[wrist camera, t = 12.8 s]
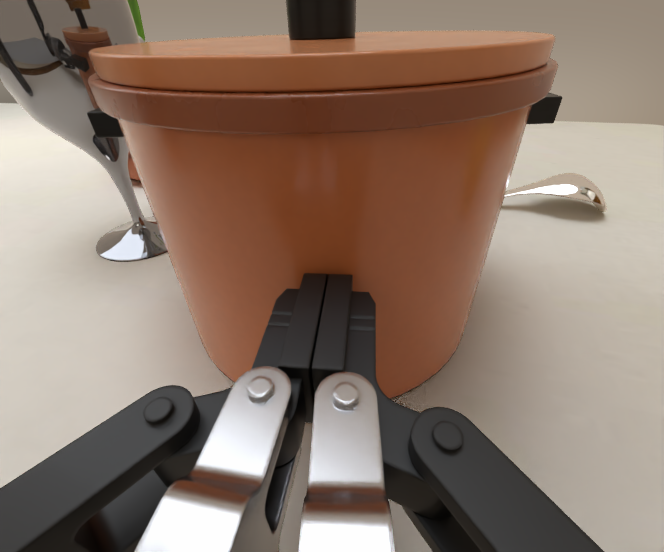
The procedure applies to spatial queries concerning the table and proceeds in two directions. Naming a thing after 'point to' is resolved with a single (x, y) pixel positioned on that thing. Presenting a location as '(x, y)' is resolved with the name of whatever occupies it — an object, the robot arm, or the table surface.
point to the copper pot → (328, 169)
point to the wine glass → (74, 93)
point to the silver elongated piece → (565, 189)
